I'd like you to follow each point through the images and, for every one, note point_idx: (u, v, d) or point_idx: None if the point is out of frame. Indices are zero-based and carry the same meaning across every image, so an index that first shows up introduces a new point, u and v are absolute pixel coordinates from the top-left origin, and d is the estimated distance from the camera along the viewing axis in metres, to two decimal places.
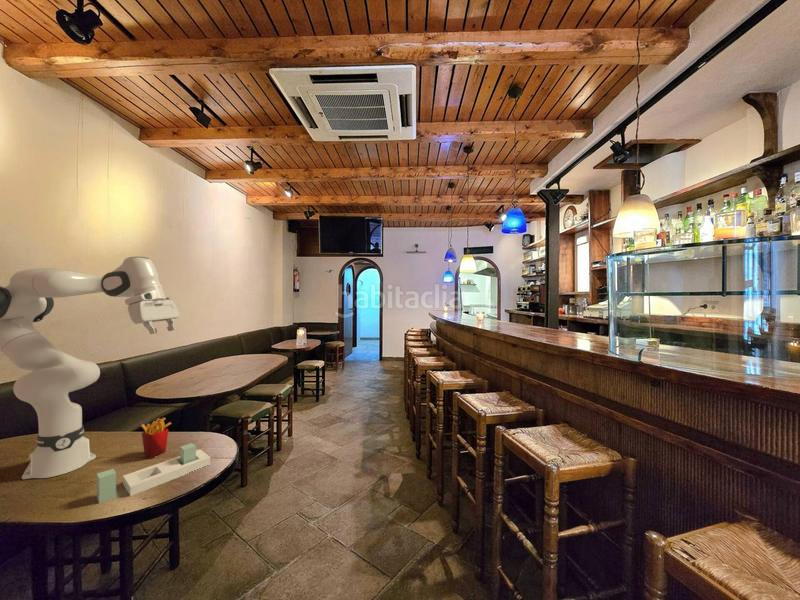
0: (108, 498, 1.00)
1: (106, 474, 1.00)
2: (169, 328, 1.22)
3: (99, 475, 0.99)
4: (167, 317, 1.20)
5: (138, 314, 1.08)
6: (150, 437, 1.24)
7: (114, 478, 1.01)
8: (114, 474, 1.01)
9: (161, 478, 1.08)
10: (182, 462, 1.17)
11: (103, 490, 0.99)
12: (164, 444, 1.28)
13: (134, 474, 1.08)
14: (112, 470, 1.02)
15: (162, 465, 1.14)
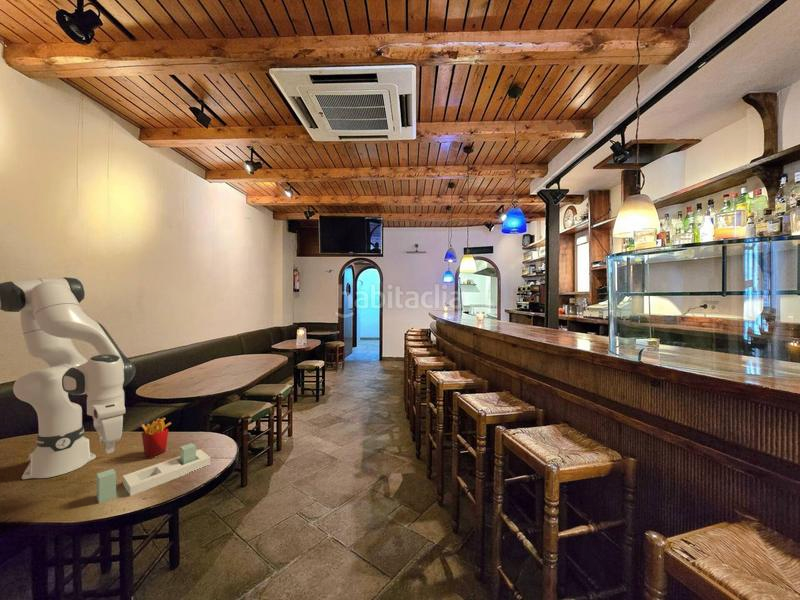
0: (108, 498, 1.00)
1: (106, 474, 1.00)
2: (104, 441, 1.03)
3: (99, 475, 0.99)
4: None
5: (118, 432, 0.95)
6: (150, 437, 1.24)
7: (114, 478, 1.01)
8: (114, 474, 1.01)
9: (161, 478, 1.08)
10: (182, 462, 1.17)
11: (103, 490, 0.99)
12: (164, 444, 1.28)
13: (134, 474, 1.08)
14: (112, 470, 1.02)
15: (162, 465, 1.14)
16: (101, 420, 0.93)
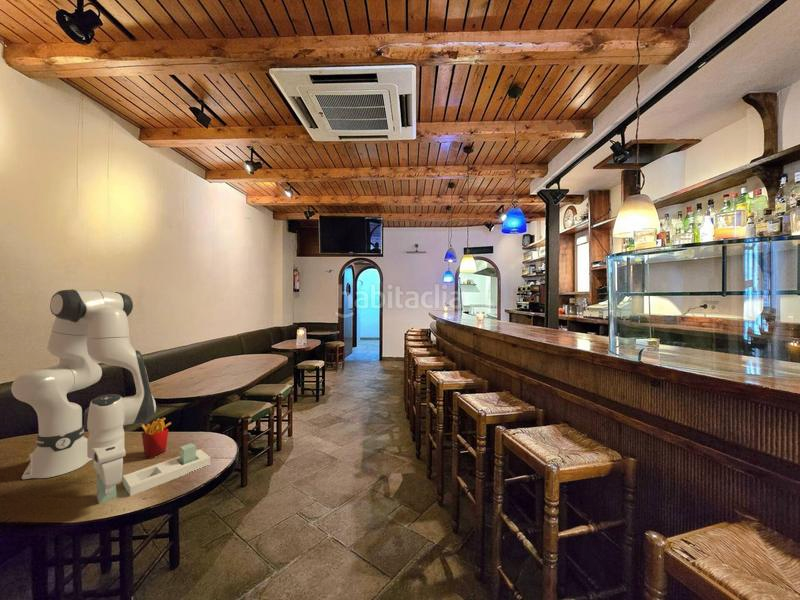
0: (108, 498, 1.00)
1: None
2: None
3: None
4: None
5: (118, 475, 0.95)
6: (150, 437, 1.24)
7: None
8: None
9: (161, 478, 1.08)
10: (182, 462, 1.17)
11: (103, 490, 0.99)
12: (164, 444, 1.28)
13: (134, 474, 1.08)
14: None
15: (162, 465, 1.14)
16: (101, 464, 0.94)
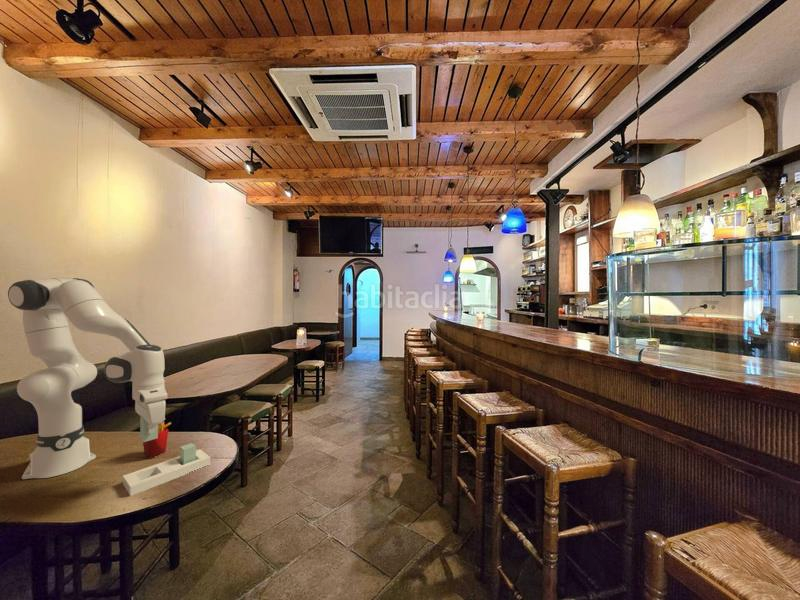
0: (151, 438, 1.08)
1: None
2: None
3: None
4: None
5: (162, 415, 1.04)
6: None
7: None
8: None
9: (161, 478, 1.08)
10: (182, 462, 1.17)
11: (147, 430, 1.07)
12: (164, 444, 1.28)
13: (134, 474, 1.08)
14: None
15: (162, 465, 1.14)
16: (147, 404, 1.02)
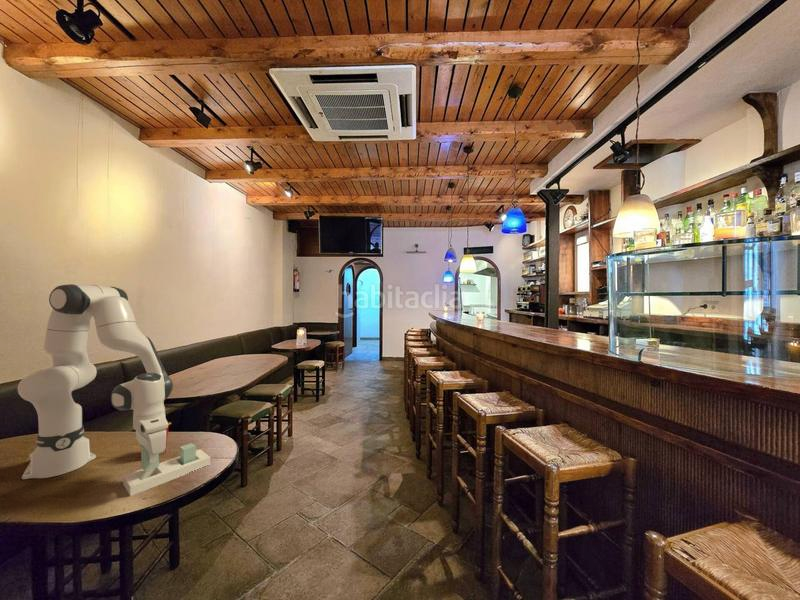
0: (152, 467, 1.08)
1: None
2: None
3: None
4: None
5: (163, 445, 1.04)
6: None
7: None
8: None
9: (161, 478, 1.08)
10: (182, 462, 1.17)
11: (148, 459, 1.07)
12: None
13: (134, 474, 1.08)
14: None
15: (162, 465, 1.14)
16: (148, 434, 1.02)
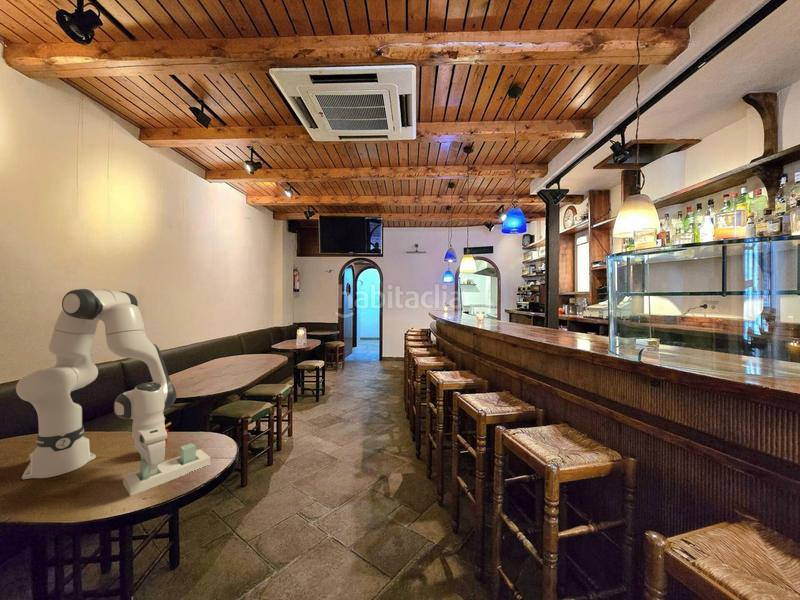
0: None
1: None
2: None
3: (143, 461, 1.08)
4: None
5: (162, 455, 1.04)
6: None
7: None
8: None
9: (161, 478, 1.08)
10: (182, 462, 1.17)
11: (146, 474, 1.07)
12: None
13: (134, 474, 1.08)
14: None
15: (162, 465, 1.14)
16: (147, 445, 1.02)
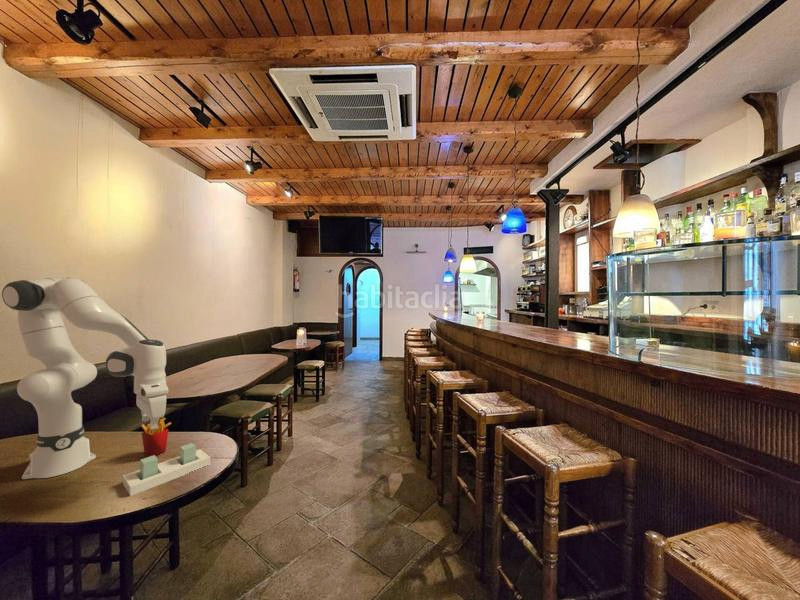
0: None
1: (149, 460, 1.09)
2: (146, 418, 1.12)
3: (143, 461, 1.08)
4: None
5: (162, 409, 1.05)
6: (150, 437, 1.24)
7: (156, 464, 1.09)
8: (156, 460, 1.09)
9: (161, 478, 1.08)
10: (182, 462, 1.17)
11: (146, 474, 1.07)
12: (164, 444, 1.28)
13: (134, 474, 1.08)
14: (153, 456, 1.11)
15: (162, 465, 1.14)
16: (148, 398, 1.03)
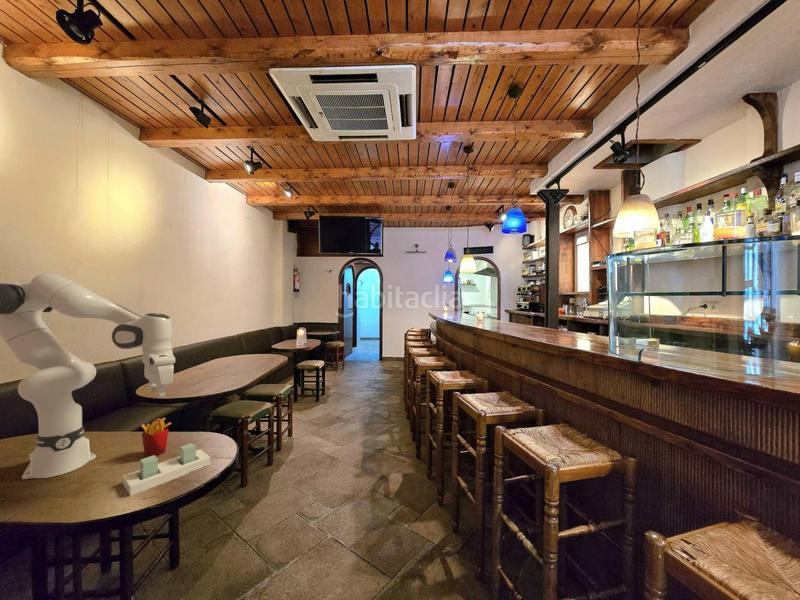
0: None
1: (149, 460, 1.09)
2: (154, 388, 1.18)
3: (143, 461, 1.08)
4: None
5: (170, 377, 1.10)
6: (150, 437, 1.24)
7: (156, 464, 1.09)
8: (156, 460, 1.09)
9: (161, 478, 1.08)
10: (182, 462, 1.17)
11: (146, 474, 1.07)
12: (164, 444, 1.28)
13: (134, 474, 1.08)
14: (153, 456, 1.11)
15: (162, 465, 1.14)
16: (156, 366, 1.09)
